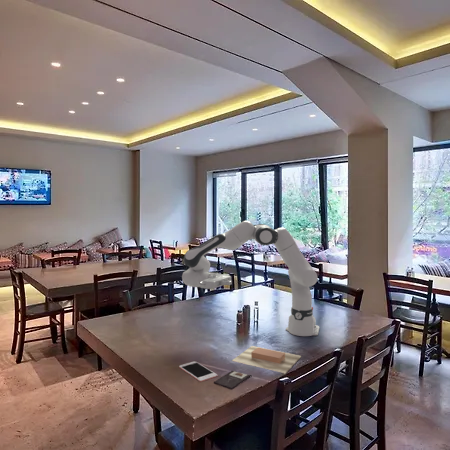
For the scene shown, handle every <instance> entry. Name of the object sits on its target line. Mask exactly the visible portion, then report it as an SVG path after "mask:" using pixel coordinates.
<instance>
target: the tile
mask: <svg viewBox="0 0 450 450" xmlns="http://www.w3.org/2000/svg"><path fill="white" fill-rule="evenodd" d="M263 348H264V347H260V348H256V349H255V350H254V351H252V352H251V357H252V358H254V359H259V360H263V361H268V362H272V363H277V364H280V363H281V362H282V361H283V360H284V359H285V353H286V352H285V353H282V352H283V351H280V352H277V351H278V350H275V351H273V350H274V349H270V350H268V349H269V348H265V349H263Z"/></svg>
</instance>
